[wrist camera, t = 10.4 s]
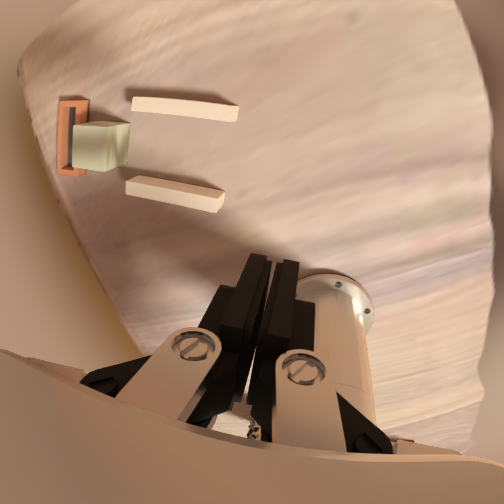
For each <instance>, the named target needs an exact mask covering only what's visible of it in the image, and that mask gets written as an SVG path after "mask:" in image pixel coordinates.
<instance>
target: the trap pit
mask: <svg viewBox="0 0 504 504" xmlns="http://www.w3.org/2000/svg"><path fill="white" fill-rule="evenodd" d="M89 103H90V100H65V101H59V115H58V136H57V174H61V175H67V176H73V177H80V176H82V175H85V174H86V169H82V168H75V167H72V143H73V125H77V124H82V123H88V115H89Z"/></svg>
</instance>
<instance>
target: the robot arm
mask: <svg viewBox="0 0 504 504" xmlns="http://www.w3.org/2000/svg"><path fill="white" fill-rule="evenodd" d="M271 266H272V261H268V260H267V256H264V255H259V254H253V253H251V254H250V256H249V258H248V261H247V263H246V265H245V268H244V270H243V272H242V274H241V277H240V279H239V281H238V283H237V286H236V287H231V286H226V285H220V286H219V288H218V290H217V292H216V294H215V295H214V297H213V299H212V301H211V303H210V305H209V307H208V309H207V311H206V313H205V314H204V316H203V318H202V320H201V322H200V324H199V326H198V328H196V327H188V328H183V329H180V330H177V331H175V332H174V333H172V334H171V335H170V336H169V337H168V338H167V339H166V340H165V341H164V343H163V344H162V345H161V346H160V347H159V348H158V349H157V350H156V352H155V353H154V354H153V355H150V356H146V357H143V358H139V359H136V360H132V361H128V362H124V363H121V364H117V365H113V366H109V367H105V368H101V369H97V370H95V371H92V372H90V373H88V374H85V373H84V370H83V369H78V368H73V367H69V366H64V365H59V364H56V363H51V362H47V361H43V360H40V359H35V358H28V357H27V358H25V357H23V356H20V355H17V354H15V353H13V352H10V351H7V350H4V349H0V504H504V465H503V464H500V463H497V462H494V461H491V460H488V459H484V458H479V457H472V456H465V455H461V454H460V453H459V452H457V451H454V450H450V449H444V448H438V447H433V446H428V445H422V444H418V443H413V442H408V441H404V440H399V439H398V440H397V442H392V441H390V439H389V438H388V437H387V436H386V435H385V433H384V432H382V431H381V430H380V429H379V428H378V427H377V424H376V414H375V405H374V395H373V386H372V378H371V370H370V363H369V356H368V349H367V343H366V335H367V334H368V332H369V331H370V329H371V326H372V323H373V317H374V312H373V306H372V302H371V299H370V297H369V295H368V293H367V292H366V291H365V289H364V288H363V287H362V286H361V285H359V284H358V283H357V282H355V281H354V280H352V279H350V278H348V277H344V276H341V275H337V274H317V275H312V276H308V277H306V278H303V279H301V280H299V281H297V280H298V271H299V262H296V261H291V260H286V259H284V261H283V263H279V262H277V264H276V268H275V272H274V276H273V280H272V284H271V287H270V291H269V295H268V299H267V303H266V307H265V302H266V296H267V290H268V284H269V278H270V272H271ZM264 308H265V311H264ZM255 349H256V351H255ZM254 353H255V356H254ZM253 356H254V362H253V368H252V374H251V379H250V385H249V390H248V396H247V401H246V404H249V405H252V410H251V414H250V415H251V416H252V417H253V419H254V420H255V421H256V422H257V423H258V425H259V426H260V427H259V432H258V440H254V439H249V438H244V437H239V436H235V435H230V434H226V433H222V432H218V431H214V430H211V429H212V427H213V425H214V423H215V421H216V418H217V415H218V414H221V413H223V412H225V411H228V410H231V411H232V407H233V404H234V401H235V402H240V403H241V400H242V396H243V393H244V389H245V386H246V382H247V378H248V375H249V371H250V367H251V364H252V360H253Z"/></svg>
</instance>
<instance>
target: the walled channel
mask: <svg viewBox="0 0 504 504" xmlns="http://www.w3.org/2000/svg"><path fill="white" fill-rule="evenodd" d="M238 109H239V106H234V105H227V104H220V103H212V102H204V101H195V100H185V99H174V98H161V97H133V99H132V108H131V111H138V112H151V113H162V114H173V115H182V116H190V117H198V118H206V119H213V120H220V121H226V122H232V121H237V115H238ZM126 195H131V196H136V197H141V198H146V199H151V200H156V201H161V202H165V203H170V204H175V205H180V206H184V207H189V208H194V209H198V210H203V211H208V212H212V213H216V212H217V211H218V210H219V209H220V208H221V207H222V205H223V203H224V196H225V191H221V190H216V189H211V188H206V187H201V186H196V185H191V184H186V183H181V182H175V181H170V180H164V179H159V178H153V177H148V176H142V175H138V176H136V177H134V178H131V179H129V180H127V181H126Z"/></svg>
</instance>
